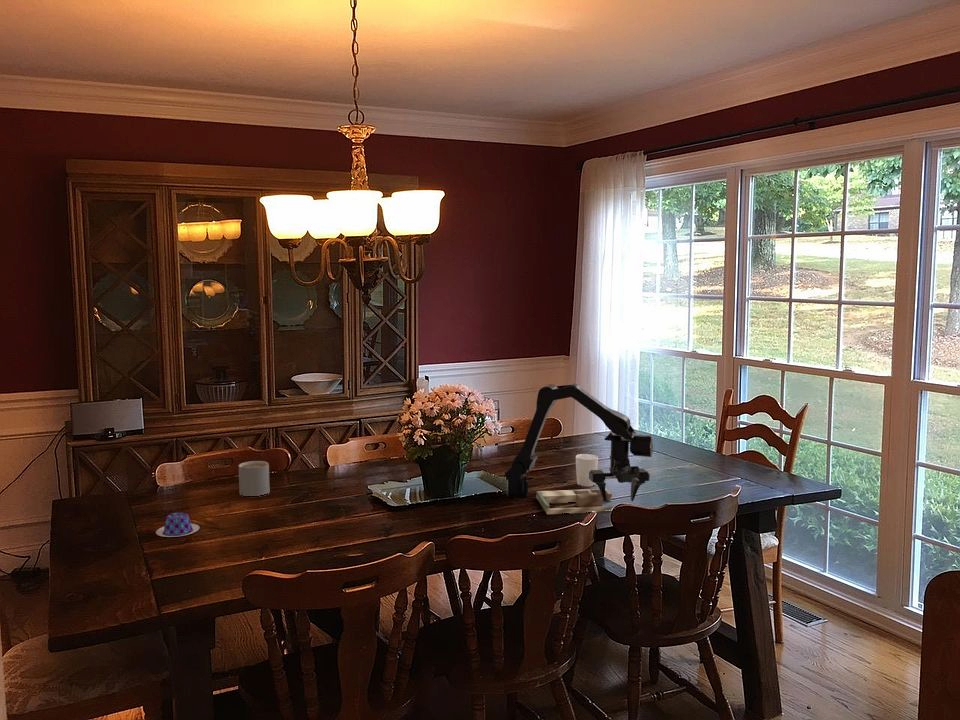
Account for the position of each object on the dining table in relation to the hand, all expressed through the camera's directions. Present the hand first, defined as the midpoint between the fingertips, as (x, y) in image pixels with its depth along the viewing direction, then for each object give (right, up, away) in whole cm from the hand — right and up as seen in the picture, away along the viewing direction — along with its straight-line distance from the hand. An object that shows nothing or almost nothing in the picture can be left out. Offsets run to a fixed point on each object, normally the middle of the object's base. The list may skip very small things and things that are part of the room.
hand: (618, 501), depth 258 cm
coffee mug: (-123, 0, +17) cm, 124 cm away
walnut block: (-10, -2, -1) cm, 10 cm away
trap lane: (-13, -1, +1) cm, 13 cm away
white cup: (-7, +1, +25) cm, 26 cm away
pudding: (-134, -5, -23) cm, 136 cm away
